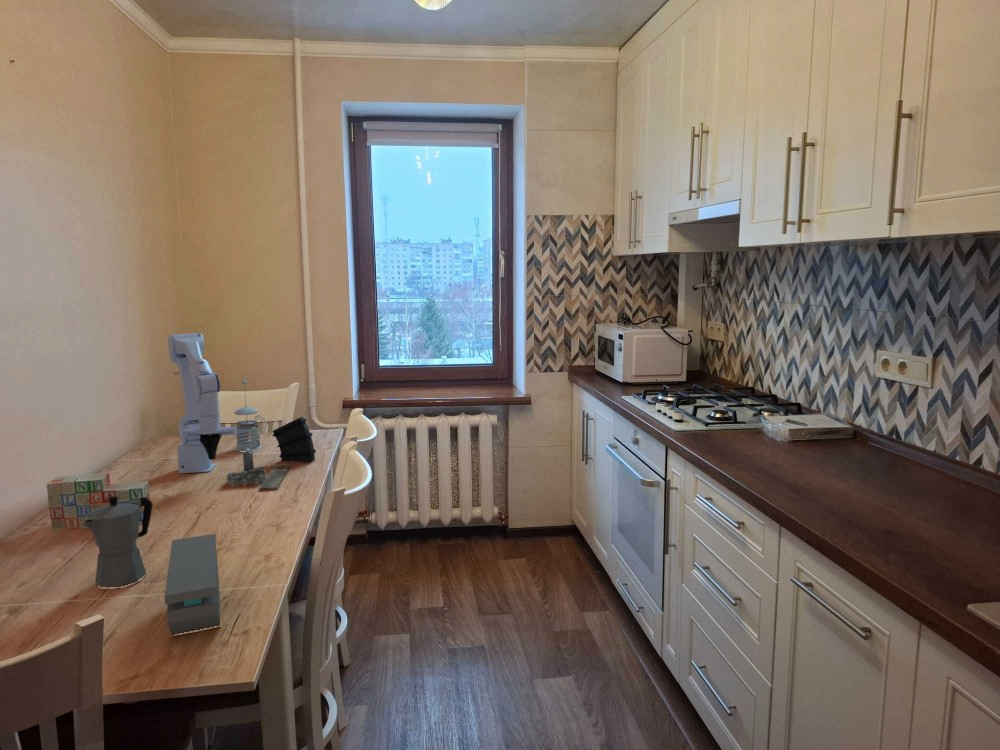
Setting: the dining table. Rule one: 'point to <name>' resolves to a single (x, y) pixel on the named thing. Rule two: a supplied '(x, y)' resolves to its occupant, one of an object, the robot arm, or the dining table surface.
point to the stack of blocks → (88, 497)
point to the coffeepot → (119, 541)
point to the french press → (248, 429)
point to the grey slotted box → (193, 585)
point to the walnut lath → (275, 477)
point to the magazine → (295, 441)
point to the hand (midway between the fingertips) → (212, 458)
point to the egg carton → (247, 477)
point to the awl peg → (248, 460)
